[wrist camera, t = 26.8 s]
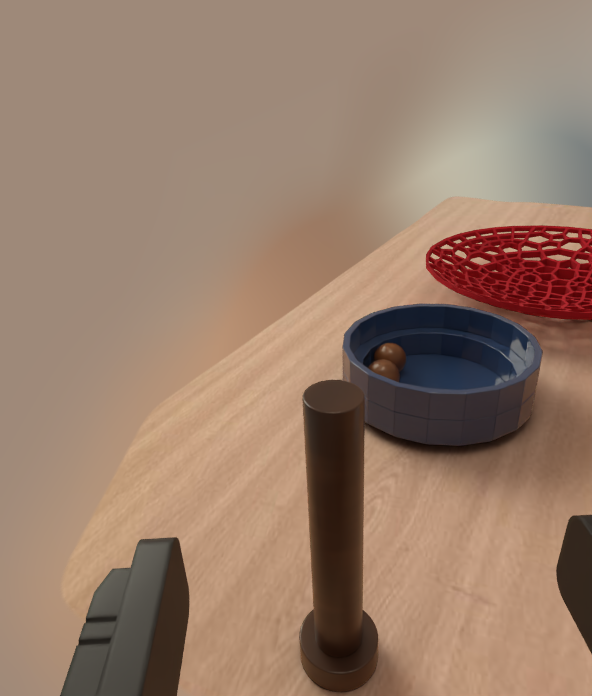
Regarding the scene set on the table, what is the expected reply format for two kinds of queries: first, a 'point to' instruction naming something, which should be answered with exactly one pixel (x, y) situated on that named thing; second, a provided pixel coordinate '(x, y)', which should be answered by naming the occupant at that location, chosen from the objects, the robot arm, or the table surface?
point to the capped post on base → (336, 539)
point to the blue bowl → (445, 373)
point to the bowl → (520, 271)
